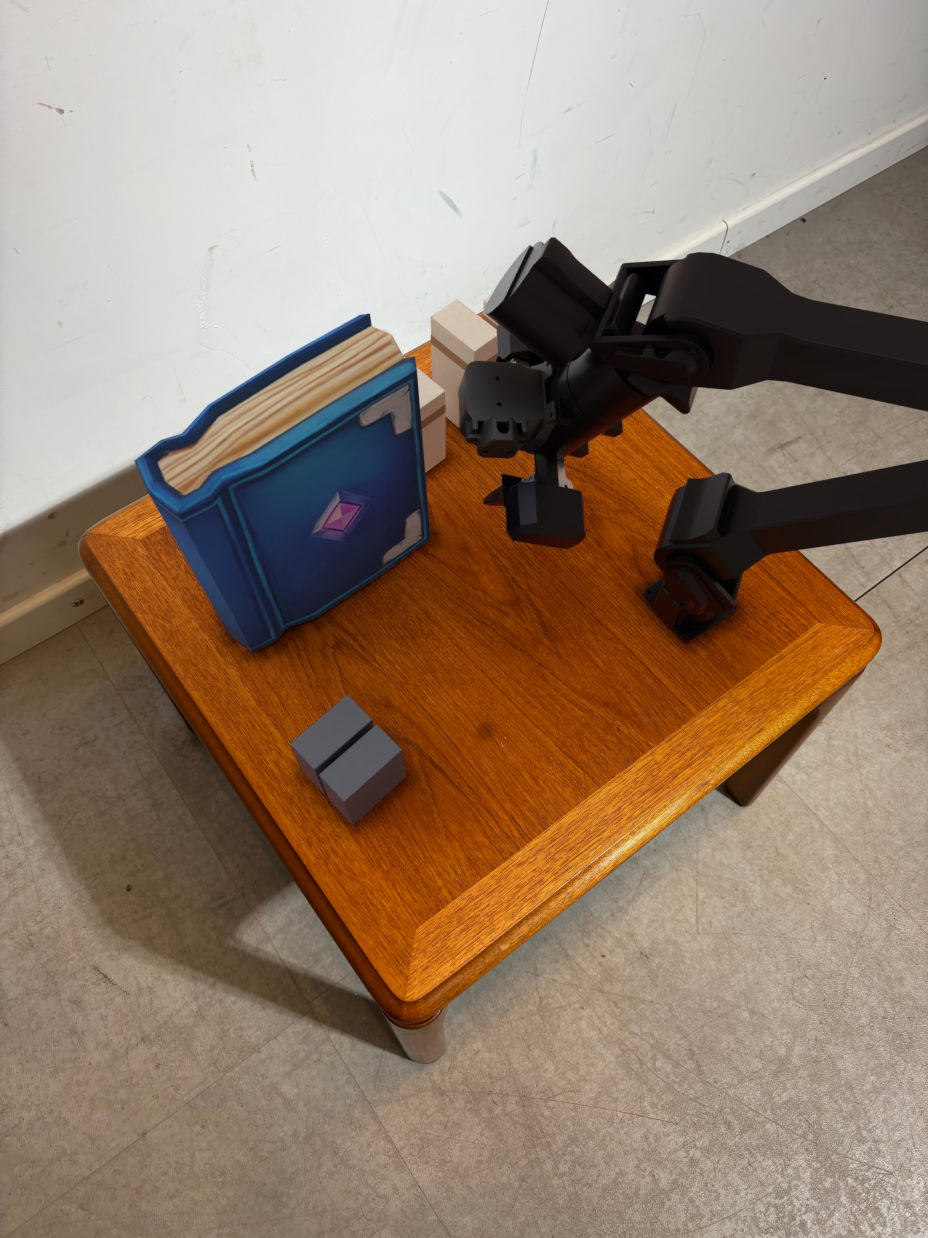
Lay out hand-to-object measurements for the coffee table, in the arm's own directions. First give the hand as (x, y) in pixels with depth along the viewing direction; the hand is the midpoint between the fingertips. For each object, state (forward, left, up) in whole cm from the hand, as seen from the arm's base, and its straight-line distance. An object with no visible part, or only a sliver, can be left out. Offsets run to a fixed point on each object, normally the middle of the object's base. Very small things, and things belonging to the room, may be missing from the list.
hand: (485, 468), depth 78 cm
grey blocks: (+23, +14, -11) cm, 29 cm away
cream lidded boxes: (-7, -14, -11) cm, 19 cm away
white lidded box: (-7, -14, -11) cm, 19 cm away
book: (+15, -4, -11) cm, 19 cm away
